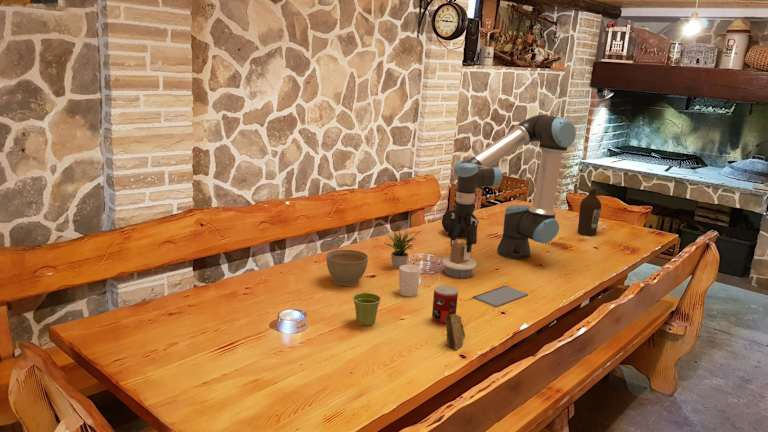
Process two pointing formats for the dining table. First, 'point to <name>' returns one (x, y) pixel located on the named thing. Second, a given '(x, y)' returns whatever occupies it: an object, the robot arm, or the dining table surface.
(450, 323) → the rock
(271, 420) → the dining table surface
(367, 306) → the plant pot
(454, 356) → the dining table surface
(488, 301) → the mat
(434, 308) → the canned food
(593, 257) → the dining table surface
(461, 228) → the black vase
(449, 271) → the bowl
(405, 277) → the white cup
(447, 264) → the lid
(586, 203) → the olive oil
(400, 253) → the house plant
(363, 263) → the planter bowl
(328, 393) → the dining table surface
